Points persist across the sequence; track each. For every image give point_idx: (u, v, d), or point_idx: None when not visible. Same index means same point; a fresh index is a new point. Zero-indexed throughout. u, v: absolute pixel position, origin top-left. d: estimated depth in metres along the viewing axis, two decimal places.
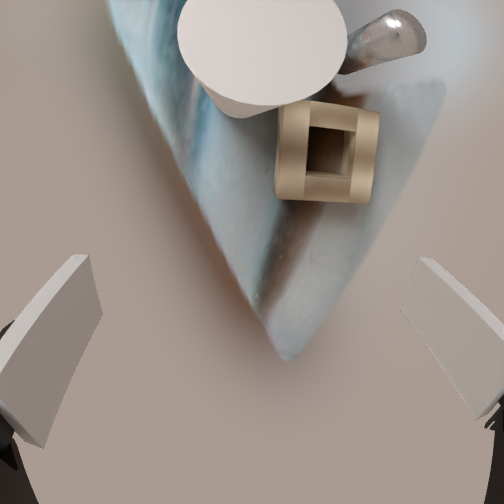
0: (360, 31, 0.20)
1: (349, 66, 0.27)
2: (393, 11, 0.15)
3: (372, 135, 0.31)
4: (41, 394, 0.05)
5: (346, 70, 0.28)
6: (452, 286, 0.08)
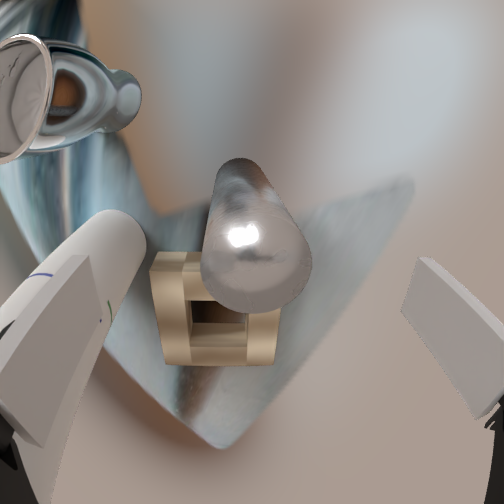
0: (209, 211, 0.15)
1: None
2: (225, 228, 0.11)
3: None
4: (41, 394, 0.05)
5: None
6: (452, 286, 0.08)
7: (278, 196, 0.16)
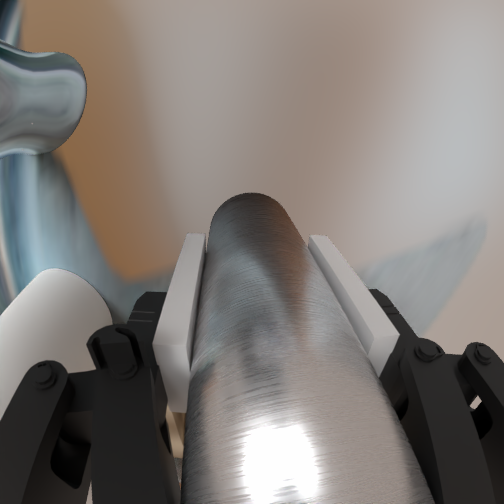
0: (189, 391, 0.06)
1: None
2: None
3: None
4: None
5: None
6: (329, 260, 0.10)
7: (359, 341, 0.06)
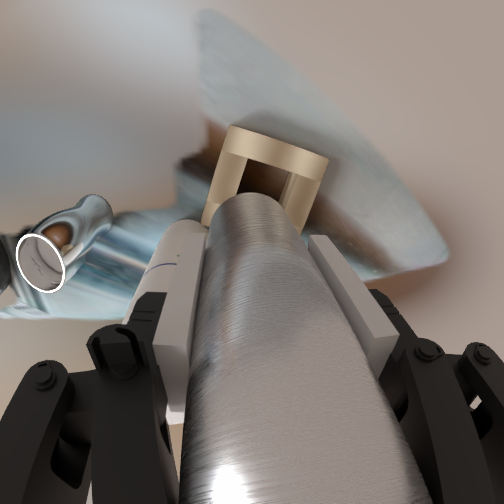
0: (188, 390, 0.06)
1: None
2: None
3: (254, 139, 0.30)
4: None
5: None
6: (329, 260, 0.10)
7: (357, 340, 0.06)
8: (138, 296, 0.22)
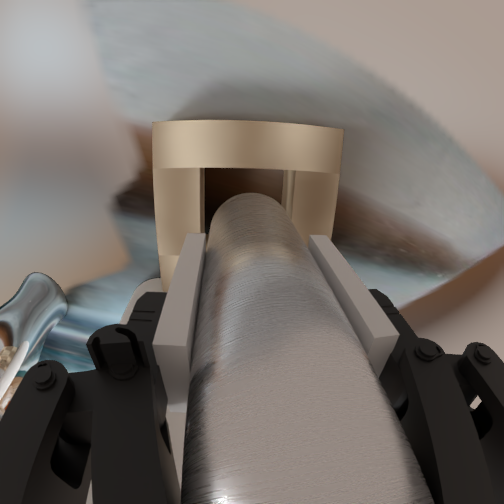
0: (189, 390, 0.06)
1: None
2: None
3: (201, 132, 0.16)
4: None
5: None
6: (329, 260, 0.10)
7: (359, 341, 0.06)
8: None
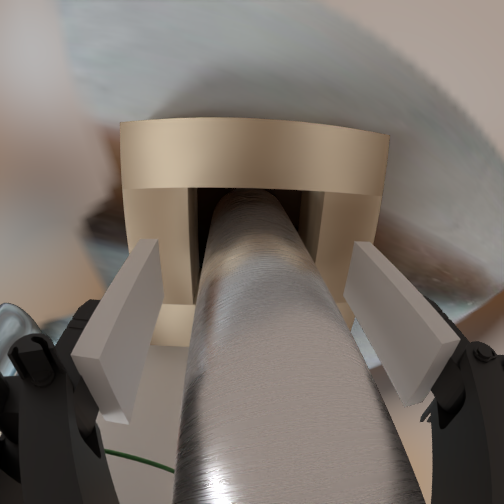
0: (190, 345, 0.07)
1: None
2: None
3: (189, 135, 0.11)
4: (130, 368, 0.07)
5: None
6: (381, 267, 0.10)
7: (336, 306, 0.07)
8: None
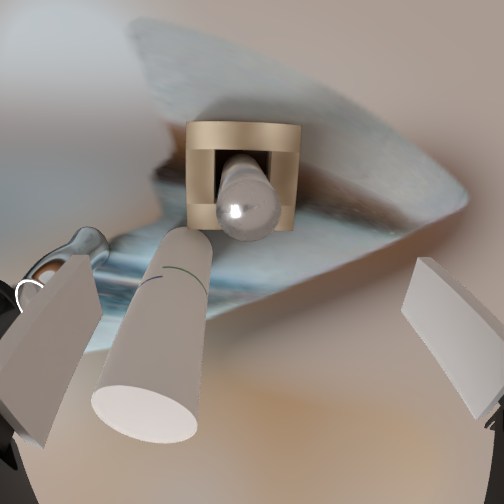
0: (220, 185, 0.24)
1: None
2: (230, 186, 0.19)
3: (215, 128, 0.28)
4: (41, 394, 0.05)
5: None
6: (452, 286, 0.08)
7: None
8: (124, 317, 0.21)
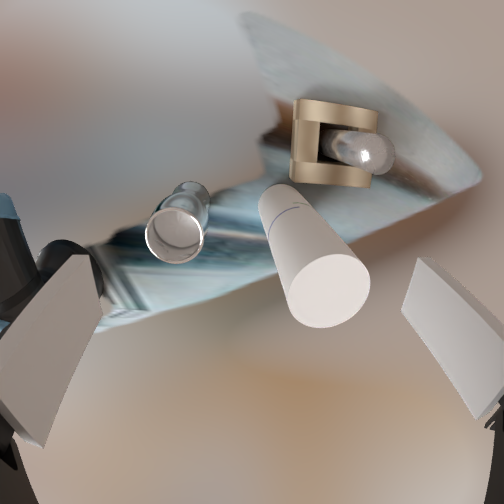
0: (343, 142, 0.31)
1: None
2: (369, 137, 0.26)
3: (321, 106, 0.35)
4: (41, 394, 0.05)
5: None
6: (452, 286, 0.08)
7: None
8: (284, 231, 0.29)
